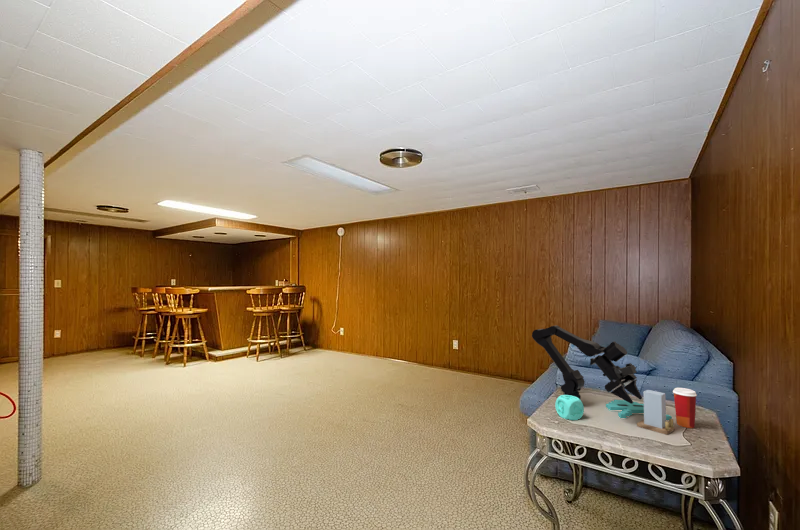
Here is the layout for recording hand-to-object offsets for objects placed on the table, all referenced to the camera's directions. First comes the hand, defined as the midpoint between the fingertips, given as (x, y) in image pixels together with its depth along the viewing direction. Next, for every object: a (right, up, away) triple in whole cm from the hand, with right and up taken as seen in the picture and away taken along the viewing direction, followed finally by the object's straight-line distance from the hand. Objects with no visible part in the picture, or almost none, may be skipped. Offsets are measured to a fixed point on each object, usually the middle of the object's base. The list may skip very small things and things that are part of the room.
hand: (636, 401), depth 146 cm
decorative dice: (-25, -9, +6) cm, 27 cm away
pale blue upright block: (+4, -7, -5) cm, 10 cm away
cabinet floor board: (+4, -9, -5) cm, 11 cm away
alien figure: (+7, -10, +13) cm, 18 cm away
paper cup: (+18, -9, -3) cm, 20 cm away
